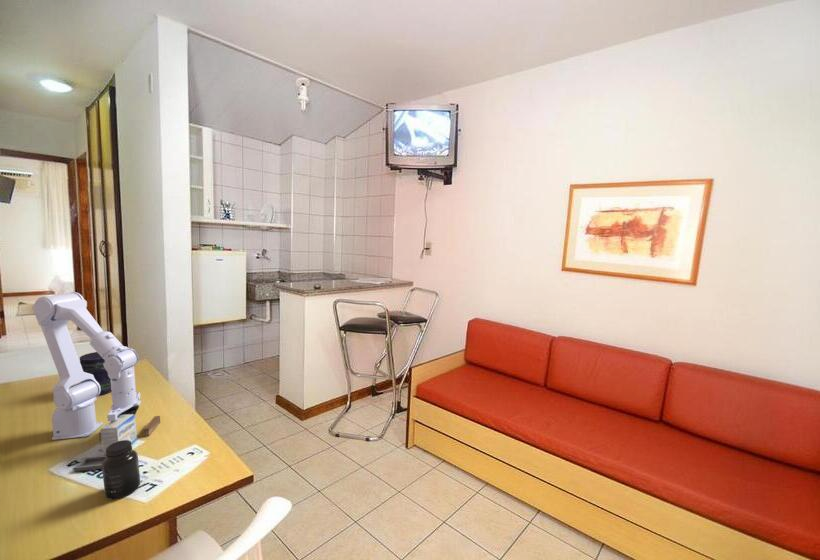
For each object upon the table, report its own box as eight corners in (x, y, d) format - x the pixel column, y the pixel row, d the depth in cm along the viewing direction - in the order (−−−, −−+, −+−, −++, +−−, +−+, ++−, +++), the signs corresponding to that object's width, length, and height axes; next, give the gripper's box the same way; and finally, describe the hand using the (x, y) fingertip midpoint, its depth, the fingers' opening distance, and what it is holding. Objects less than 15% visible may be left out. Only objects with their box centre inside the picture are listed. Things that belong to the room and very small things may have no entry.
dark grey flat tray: (74, 472, 93) (74, 468, 93) (85, 461, 97) (85, 457, 97) (114, 467, 95) (114, 463, 95) (123, 457, 99) (123, 453, 99)
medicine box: (119, 456, 100) (117, 427, 99) (102, 457, 99) (99, 428, 98) (137, 440, 108) (135, 413, 106) (121, 440, 107) (119, 414, 106)
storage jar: (119, 390, 140) (117, 354, 138) (87, 399, 132) (84, 361, 130) (110, 384, 145) (107, 349, 143) (78, 392, 137) (75, 356, 135)
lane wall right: (143, 436, 110) (143, 429, 109) (155, 423, 117) (154, 416, 117) (149, 436, 110) (148, 428, 110) (160, 422, 118) (160, 415, 117)
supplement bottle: (118, 481, 90) (114, 437, 89) (146, 480, 91) (143, 436, 89) (97, 501, 83) (92, 454, 82) (127, 500, 84) (124, 453, 82)
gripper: (126, 399, 102) (129, 442, 103) (149, 379, 116) (152, 417, 117) (97, 401, 100) (101, 445, 102) (124, 380, 114) (127, 419, 116)
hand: (126, 430), depth 109 cm, fingers closed
